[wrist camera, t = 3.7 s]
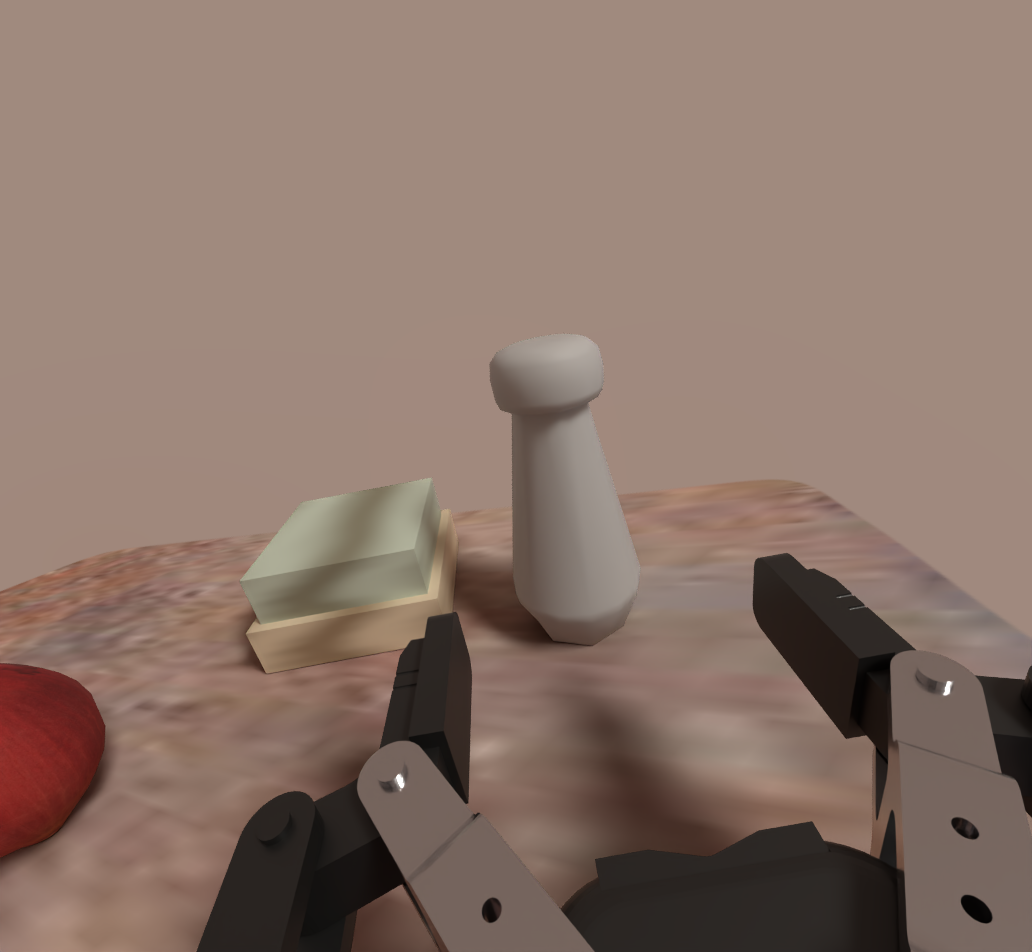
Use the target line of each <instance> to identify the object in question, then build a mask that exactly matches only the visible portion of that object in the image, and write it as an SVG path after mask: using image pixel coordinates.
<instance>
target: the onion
mask: <svg viewBox="0 0 1032 952" xmlns="http://www.w3.org/2000/svg"><path fill="white" fill-rule="evenodd" d="M104 742H105V724H104V722H103V719H102V717H101V715H100V712H99V710H98V708H97V706H96V703H95V701H94V699H93V697H92V695H91V693H90V692H89V691H88V690H86V689H85V688H84V687H83V686H82V685H81V684H80V683H79V682H78V681H76V680H74V679H72V678H70V677H68V676H65V675H63V674H61V673H59V672H55V671H51V670H47V669H43V668H38V667H33V666H28V665H19V664H7V663H0V858H1V857H3V856H5V855H7V854H9V853H12V852H14V851H16V850H18V849H20V848H22V847H26V846H30V845H33V844H36V843H39V842H41V841H43V840H45V839H47V838H49V837H50V836H52V835H53V834H54V833H55V832H57V831H58V830H59V828H60V827H61V826H62V825H63V824H64V822H65V820H66V819H67V818H68V816H69V815H70V813H71V812H72V810H73V809H74V807H75V806H76V805H77V803H78V802H79V800H80V799H81V797H82V796H83V794H84V793H85V792H86V790H87V788H88V786H89V784H90V782H91V780H92V778H93V776H94V774H95V772H96V770H97V767H98V765H99V762H100V759H101V756H102V753H103V751H104Z"/></svg>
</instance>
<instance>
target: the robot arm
mask: <svg viewBox="0 0 1032 952" xmlns="http://www.w3.org/2000/svg"><path fill="white" fill-rule="evenodd" d="M753 610H754V615H755V618H756V620H757V622H758V624H759V626H760V628H761V629H762V631H763V632H764V633H765V634H766V636H767V637H768V638H769V640H770V641H771V642H772V644H773V645H774V646H775V647H776V649H777V650H778V651H779V653H780V654H781V655H782V656H783V658H784V659H785V660H786V662H787V663H788V664H789V666H790V667H791V668H792V669H793V671H794V672H795V673H796V675H797V676H798V677H799V678H800V680H801V681H802V682H803V684H804V685H805V686H806V688H807V689H808V690H809V691H810V693H811V694H812V695H813V697H814V698H815V699H816V701H817V702H818V703H819V704H820V706H821V707H822V708H823V710H824V711H825V712H826V713H827V715H828V716H829V717H830V719H831V720H832V721H833V723H834V724H835V725H836V726H837V728H838V729H839V730H840V732H841V733H842V734H843V735H844V737H845V738H846V739H848V738H853V737H859V736H865V735H867V736H868V738H869V739H870V740H871V741H872V742H873V744H874V749H873V755H872V841H871V850H870V855H869V854H867V853H865V852H863V851H860V850H857V849H854V848H851V847H849V846H845V845H841V844H837V843H833V842H828V841H824V840H823V839H822V837H821V835H820V834H819V832H818V830H817V829H816V827H815V825H814V824H813V822H812V821H811V822H806V823H800V824H794V825H788V826H783V827H777V828H771V829H765V830H759V831H757V832H755V833H753V834H752V835H750V836H748V837H746V838H744V839H742V840H741V841H739V842H737V843H735V844H733V845H731V846H730V847H728V848H726V849H724V850H722V851H720V852H719V853H717V854H715V855H712V856H708V857H706V856H695V855H687V854H679V853H670V852H662V851H654V850H644V851H639V852H633V853H627V854H621V855H616V856H610V857H604V858H598V859H595V861H596V867H597V873H598V878H596V879H595V880H593V881H591V882H589V883H587V884H586V885H585V886H584V887H582V888H581V889H580V890H578V891H577V892H576V893H575V894H574V895H573V896H572V897H571V898H570V899H569V900H568V901H567V902H566V903H565V904H564V906H563V907H562V908H561V910H560V908H559V907H558V906H557V905H556V903H555V902H554V901H553V900H552V899H551V897H550V896H549V895H548V894H547V892H546V891H545V890H544V889H543V887H542V886H541V885H540V884H539V882H538V881H537V880H536V879H535V878H534V876H533V875H532V874H531V873H530V871H529V870H528V869H527V868H526V866H525V865H524V864H523V863H522V862H521V860H520V859H519V858H518V857H517V855H516V854H515V853H514V852H513V850H512V849H511V848H510V847H509V845H508V844H507V843H506V842H505V841H504V839H503V838H502V837H501V836H500V834H499V833H498V832H497V831H496V829H495V828H494V827H493V826H492V825H491V823H490V822H489V821H488V820H487V819H486V818H485V817H484V816H483V815H482V814H480V813H477V814H476V815H475V814H474V813H473V812H472V811H471V810H470V809H469V808H468V807H467V805H466V804H468V797H469V762H470V728H471V694H472V671H471V663H470V657H469V653H468V649H467V646H466V642H465V639H464V635H463V632H462V628H461V624H460V621H459V617H458V615H457V613H456V612H452V613H447V614H441V615H435V616H430V617H428V619H427V624H426V630H425V636H424V638H420V639H414V640H411V641H410V642H409V644H408V645H407V647H406V648H405V649H404V651H403V652H402V654H401V655H400V658H399V662H398V667H397V672H396V677H395V681H394V685H393V691H392V695H391V699H390V704H389V708H388V713H387V718H386V722H385V727H384V732H383V736H382V741H381V745H380V748H379V750H378V751H377V752H375V753H374V754H373V755H372V756H371V757H370V758H369V759H368V761H367V762H366V763H365V765H364V766H363V768H362V770H361V772H360V775H359V777H358V778H357V779H356V780H354V781H353V782H352V783H350V784H348V785H347V786H345V787H343V788H341V789H339V790H337V791H335V792H333V793H331V794H329V795H327V796H325V797H323V798H321V799H319V800H317V801H315V802H313V800H312V798H311V797H310V796H309V795H307V794H306V793H303V792H300V791H293V792H288V793H284V794H282V795H279V796H277V797H275V798H274V799H272V800H270V801H269V802H267V803H266V804H265V805H264V806H262V807H261V808H260V809H259V810H258V811H257V812H256V813H255V814H254V815H253V817H252V818H251V819H250V820H249V822H248V823H247V825H246V826H245V828H244V830H243V831H242V834H241V836H240V838H239V841H238V843H237V846H236V849H235V851H234V854H233V857H232V859H231V862H230V864H229V867H228V870H227V872H226V875H225V878H224V880H223V883H222V886H221V888H220V891H219V893H218V896H217V899H216V901H215V904H214V907H213V909H212V912H211V915H210V917H209V920H208V922H207V925H206V928H205V930H204V933H203V936H202V938H201V941H200V944H199V946H198V949H197V952H351V948H352V941H353V934H354V928H355V921H356V914H357V910H358V909H360V908H361V907H363V906H365V905H366V904H368V903H370V902H372V901H373V900H375V899H377V898H378V897H380V896H382V895H384V894H385V893H387V892H389V891H391V890H392V889H394V888H396V887H397V886H399V885H401V884H402V886H403V887H404V889H405V891H406V893H407V895H408V896H409V898H410V900H411V902H412V904H413V905H414V907H415V909H416V911H417V913H418V914H419V916H420V918H421V920H422V922H423V923H424V925H425V927H426V929H427V931H428V932H429V934H430V936H431V938H432V940H433V941H434V943H435V945H436V947H437V949H438V950H439V952H1032V836H1031V832H1030V828H1029V824H1028V820H1027V816H1026V812H1027V813H1028V814H1029V815H1030V816H1031V817H1032V666H1030V668H1029V670H1028V673H1027V676H1026V679H1025V680H1022V679H1010V678H998V677H985V676H976V675H974V674H973V673H972V672H970V671H969V670H968V669H967V668H965V667H964V666H962V665H961V664H959V663H957V662H956V661H954V660H952V659H949V658H947V657H945V656H942V655H939V654H935V653H932V652H927V651H918V650H916V649H914V648H913V647H912V646H911V645H910V644H909V643H908V642H907V641H905V640H904V639H903V638H902V637H901V636H900V635H899V634H897V633H896V632H895V631H894V630H893V629H892V628H891V627H889V626H888V625H887V624H886V623H885V622H884V621H883V620H882V619H880V618H879V617H878V616H877V615H876V614H875V613H874V612H872V611H871V610H870V609H869V608H868V607H867V608H866V607H865V605H864V604H863V603H862V602H861V601H860V600H859V599H858V598H857V597H855V596H852V594H851V592H850V591H849V590H847V589H846V588H845V587H844V586H843V585H842V584H841V583H839V582H838V581H837V580H836V579H834V578H832V577H830V576H828V575H826V574H824V573H822V572H820V571H818V570H816V569H808V570H807V569H806V568H804V567H803V566H802V565H801V564H800V563H799V562H798V561H797V560H796V559H795V558H794V557H793V556H791V555H790V554H788V553H784V554H778V555H773V556H767V557H762V558H757V559H756V561H755V564H754V584H753Z"/></svg>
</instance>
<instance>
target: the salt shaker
mask: <svg viewBox="0 0 1032 952" xmlns="http://www.w3.org/2000/svg"><path fill="white" fill-rule="evenodd" d="M490 382H491V386H492V390H493V394H494V397H495V401H496V403H497V405H498V407H499V408H500V410H502V411H505V412H509V413H511V414H512V498H513V499H512V500H513V502H512V504H513V505H512V510H513V580H514V585H515V590H516V594H517V597H518V599H519V602H520V604H521V605H523V606H524V607H525V608H526V609H527V610H528V611H529V612H530V613H531V614H532V615H533V616H534V617H535V618H536V619H537V620H538V621H539V623H540V624H541V625H542V627H543V628H544V629H545V631H546V632H547V633H548V635H549V636H550V637H551V638H552V640H553V641H558V642H566V643H575V644H583V645H591V646H593V645H595V644H596V643H598V642H599V641H601V640H602V639H604V638H606V637H607V636H609V635H610V634H612V633H613V632H615V631H616V630H618V629H619V628H621V627H622V626H624V623H625V621H626V619H627V616H628V614H629V612H630V609H631V607H632V605H633V603H634V600H635V598H636V596H637V590H638V584H639V578H640V564H639V561H638V558H637V555H636V552H635V549H634V546H633V543H632V540H631V537H630V533H629V530H628V527H627V524H626V521H625V518H624V515H623V512H622V509H621V506H620V503H619V499H618V496H617V493H616V490H615V487H614V484H613V481H612V478H611V475H610V472H609V468H608V465H607V463H606V459H605V456H604V453H603V450H602V447H601V444H600V441H599V438H598V434H597V431H596V428H595V424H594V421H593V418H592V415H591V411H590V407H589V404H588V402H590V401H591V400H593V399H595V398H596V397H598V395H599V394H600V392H601V390H602V387H603V382H604V373H603V361H602V358H601V355H600V351H599V347H598V346H597V345H596V344H595V343H593V342H592V341H591V340H590V339H588V338H587V337H585V336H582V335H574V334H557V335H548V336H542V337H536V338H532V339H527V340H523V341H520V342H517V343H514V344H511V345H510V346H508V347H506V348H504V349H502V350H501V351H499V352H497V353H496V354H495V356H494V358H493V359H492V361H491V362H490Z"/></svg>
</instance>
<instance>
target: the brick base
mask: <svg viewBox="0 0 1032 952" xmlns="http://www.w3.org/2000/svg"><path fill="white" fill-rule="evenodd" d="M458 543H459V542H458V538H457V534H456V530H455V527H454V523H453V519H452V515H451V511H450V509H446V510H440V507H439V503H438V499H437V496H436V492H435V488H434V485H433V481H432V478H428V479H423V480H418V481H412V482H407V483H402V484H396V485H391V486H385V487H380V488H375V489H369V490H364V491H359V492H354V493H348V494H343V495H338V496H332V497H327V498H322V499H316V500H311V501H306V502H301V504H300V505H299V506H298V508H297V509H296V510H295V511H294V513H293V514H292V515H291V516H290V518H289V519H288V520H287V522H286V523H285V524H284V525H283V527H282V528H281V529H280V530H279V532H278V533H277V534H276V536H275V537H274V538H273V539H272V541H271V542H270V543H269V544H268V546H267V547H266V548H265V550H264V551H263V552H262V553H261V555H260V556H259V557H258V558H257V560H256V561H255V562H254V563H253V565H252V566H251V567H250V569H249V570H248V571H247V572H246V574H245V575H244V576H243V577H242V579H241V580H240V581H239V582H240V584H241V586H242V588H243V590H244V592H245V594H246V596H247V598H248V600H249V602H250V604H251V606H252V608H253V610H254V612H255V614H256V616H257V617H256V619H255V621H254V622H253V624H252V625H251V627H250V628H249V630H248V631H247V633H246V635H247V637H248V639H249V641H250V643H251V645H252V647H253V649H254V651H255V653H256V655H257V657H258V658H259V660H260V662H261V664H262V666H263V668H264V670H265V672H266V674H268V673H273V672H279V671H284V670H290V669H295V668H301V667H306V666H311V665H317V664H322V663H328V662H333V661H339V660H344V659H349V658H355V657H360V656H366V655H371V654H377V653H382V652H387V651H393V650H398V649H404V648H406V647H407V645H408V644H409V642H410V641H411V640H414V639H420V638H424V636H425V630H426V624H427V619H428V617H430V616H435V615H441V614H447V613H452V610H453V599H454V588H455V576H456V565H457V554H458Z"/></svg>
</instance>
